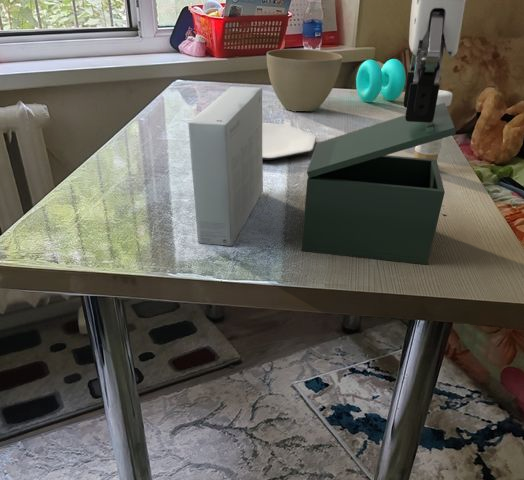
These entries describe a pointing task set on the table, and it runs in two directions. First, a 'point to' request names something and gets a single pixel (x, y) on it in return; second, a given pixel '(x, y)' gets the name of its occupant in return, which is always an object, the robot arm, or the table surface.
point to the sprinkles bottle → (433, 147)
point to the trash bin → (375, 209)
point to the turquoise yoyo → (380, 80)
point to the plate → (285, 141)
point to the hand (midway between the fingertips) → (417, 112)
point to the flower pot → (302, 76)
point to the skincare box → (226, 163)
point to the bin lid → (378, 141)
